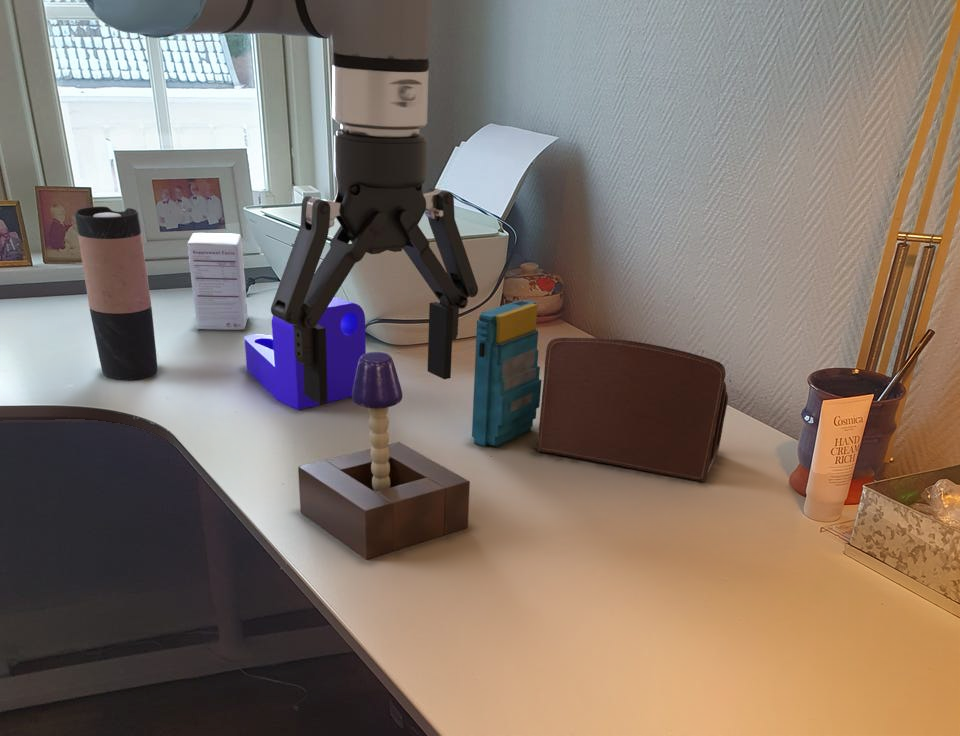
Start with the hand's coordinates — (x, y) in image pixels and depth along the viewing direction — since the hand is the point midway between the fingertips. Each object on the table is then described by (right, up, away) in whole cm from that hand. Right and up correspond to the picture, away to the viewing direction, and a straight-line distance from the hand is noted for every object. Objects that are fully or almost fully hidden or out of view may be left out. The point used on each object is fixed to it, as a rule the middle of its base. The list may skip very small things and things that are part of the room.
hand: (379, 386), depth 91 cm
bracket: (-16, +11, +41) cm, 45 cm away
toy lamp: (-1, -12, +7) cm, 14 cm away
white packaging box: (-31, +26, +63) cm, 74 cm away
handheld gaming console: (+12, +1, +28) cm, 31 cm away
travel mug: (-38, +13, +41) cm, 58 cm away
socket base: (0, -11, +7) cm, 14 cm away
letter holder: (+27, -2, +25) cm, 37 cm away
